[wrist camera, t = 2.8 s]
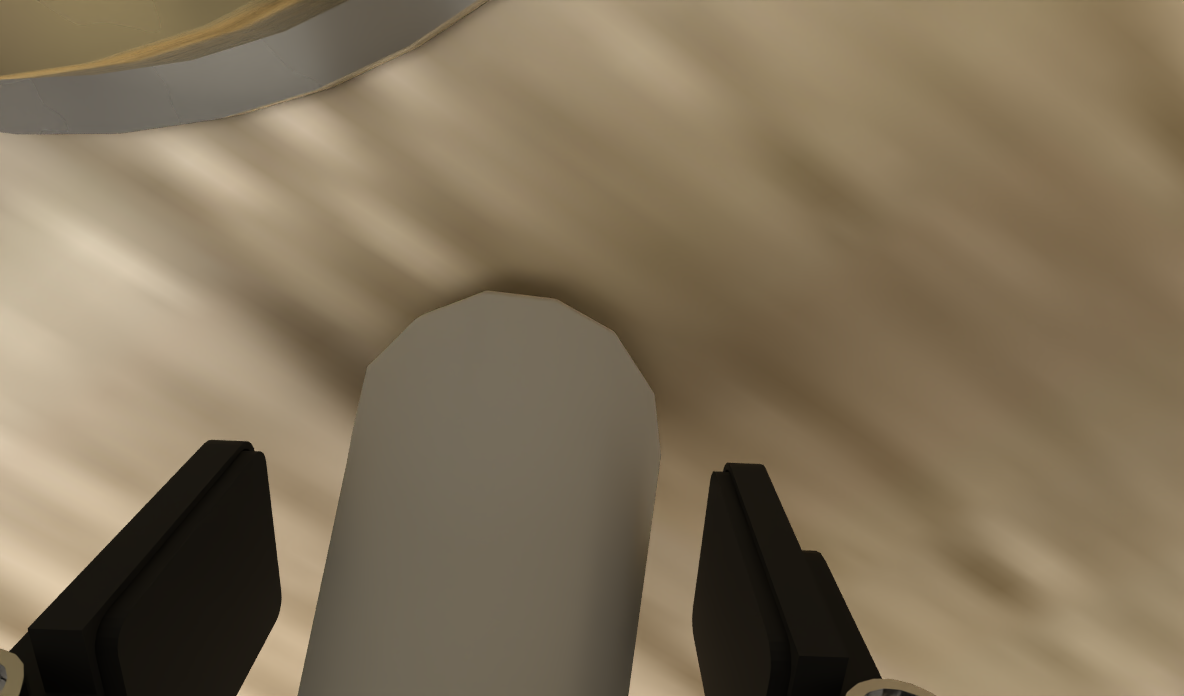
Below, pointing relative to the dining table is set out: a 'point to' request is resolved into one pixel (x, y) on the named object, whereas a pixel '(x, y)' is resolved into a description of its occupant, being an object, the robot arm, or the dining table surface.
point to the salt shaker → (491, 511)
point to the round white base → (230, 73)
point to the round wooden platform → (134, 32)
